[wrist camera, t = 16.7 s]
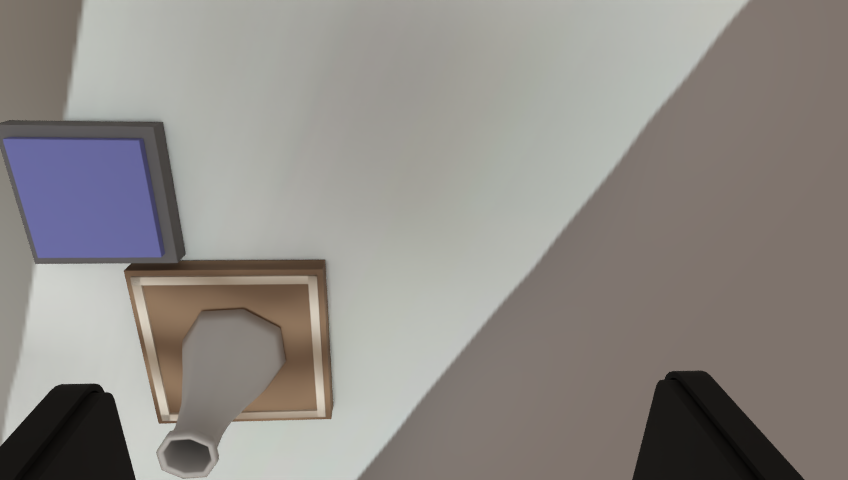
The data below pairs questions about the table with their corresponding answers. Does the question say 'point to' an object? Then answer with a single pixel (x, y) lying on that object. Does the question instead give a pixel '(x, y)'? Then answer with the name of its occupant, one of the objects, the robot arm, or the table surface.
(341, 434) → the table surface
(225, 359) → the flask
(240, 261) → the marked board
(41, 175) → the ink pad
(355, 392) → the table surface
